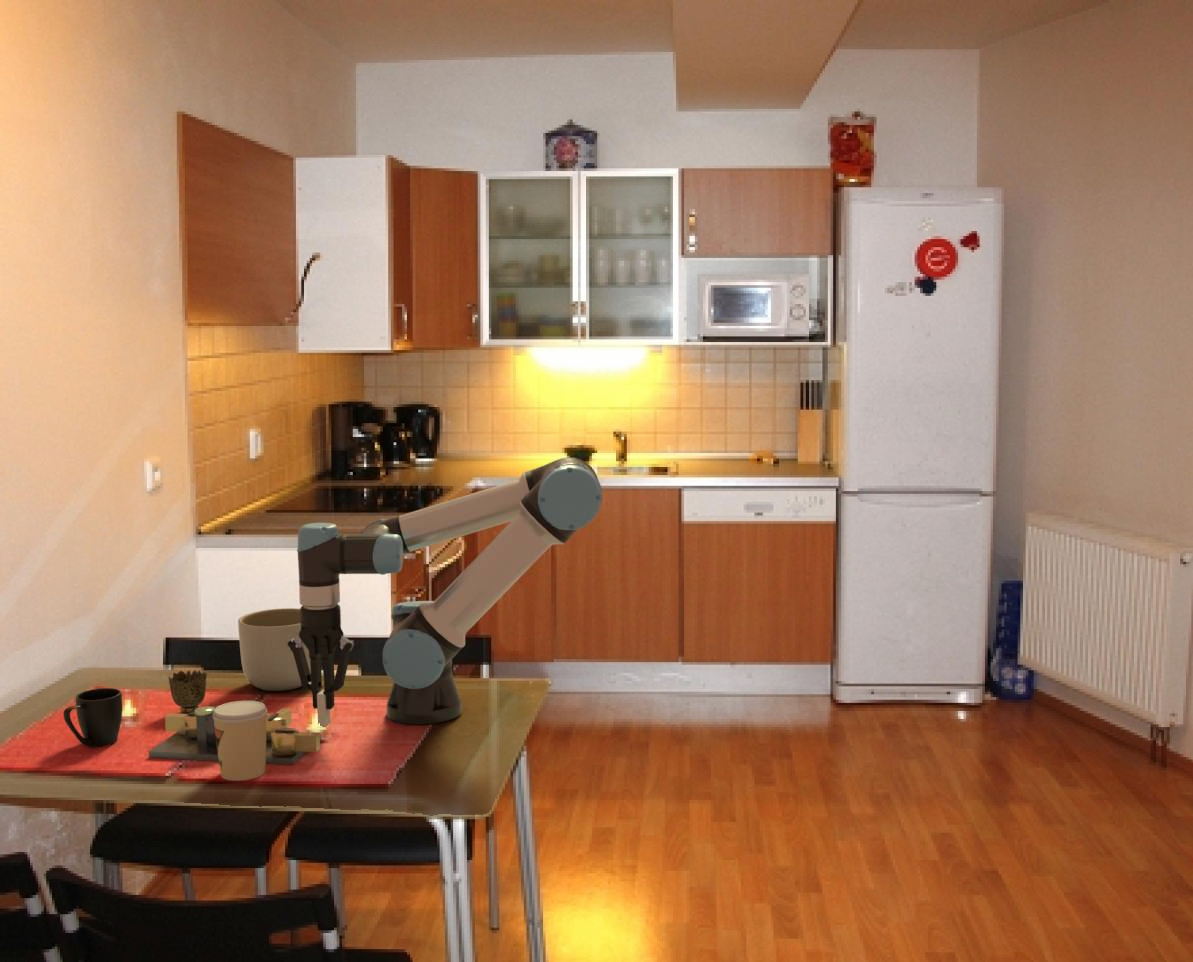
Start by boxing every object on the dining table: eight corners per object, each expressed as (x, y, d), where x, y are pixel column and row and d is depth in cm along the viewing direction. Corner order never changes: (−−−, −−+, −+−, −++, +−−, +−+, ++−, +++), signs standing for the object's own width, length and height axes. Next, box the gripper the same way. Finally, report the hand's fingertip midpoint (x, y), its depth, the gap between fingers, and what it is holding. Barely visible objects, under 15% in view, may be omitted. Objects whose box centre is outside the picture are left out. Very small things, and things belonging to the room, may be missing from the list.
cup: (197, 719, 264) (195, 680, 263) (163, 717, 266) (161, 679, 265) (215, 707, 271) (213, 670, 270) (182, 706, 273) (180, 668, 272)
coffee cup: (222, 764, 238) (218, 700, 237) (274, 762, 239) (271, 699, 237) (210, 783, 229) (207, 717, 227) (265, 781, 230) (261, 715, 228)
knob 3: (267, 754, 239) (266, 733, 238) (278, 745, 244) (277, 725, 243) (313, 756, 237) (312, 736, 237) (323, 747, 242) (322, 727, 242)
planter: (299, 669, 299) (297, 604, 297) (335, 686, 286) (332, 618, 284) (228, 683, 288) (225, 616, 286) (261, 701, 275) (258, 631, 273)
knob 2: (281, 740, 246) (280, 720, 246) (256, 739, 247) (255, 719, 246) (299, 725, 255) (298, 706, 254) (275, 724, 256) (274, 705, 255)
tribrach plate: (321, 739, 251) (319, 698, 250) (292, 764, 238) (290, 722, 237) (184, 732, 256) (182, 693, 255) (149, 757, 242) (146, 715, 241)
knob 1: (217, 729, 253) (216, 709, 252) (205, 738, 248) (204, 718, 248) (174, 727, 254) (173, 708, 254) (161, 736, 250) (160, 716, 249)
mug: (52, 751, 246) (49, 702, 245) (104, 732, 257) (101, 685, 255) (82, 758, 242) (78, 708, 241) (133, 739, 253) (130, 691, 251)
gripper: (359, 601, 251) (363, 720, 255) (295, 599, 254) (299, 717, 257) (346, 610, 244) (350, 732, 247) (279, 608, 246) (284, 729, 250)
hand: (324, 724), depth 252 cm, fingers closed
